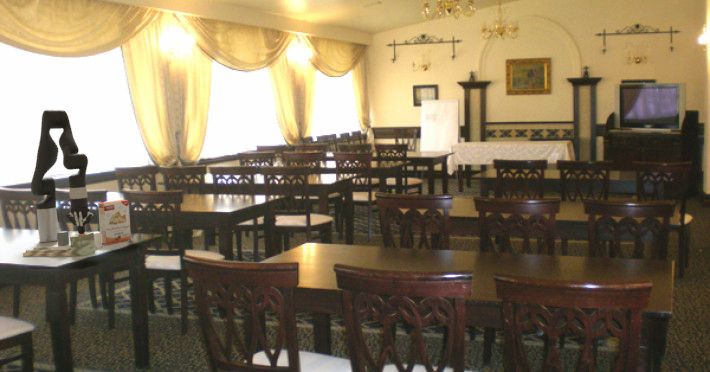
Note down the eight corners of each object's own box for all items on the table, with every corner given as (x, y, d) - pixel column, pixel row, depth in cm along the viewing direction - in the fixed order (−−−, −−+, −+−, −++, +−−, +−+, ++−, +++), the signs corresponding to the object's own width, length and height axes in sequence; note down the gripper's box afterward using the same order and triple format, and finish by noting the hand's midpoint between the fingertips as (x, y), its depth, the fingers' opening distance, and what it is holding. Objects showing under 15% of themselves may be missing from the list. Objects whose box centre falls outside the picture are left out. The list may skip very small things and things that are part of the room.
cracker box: (107, 245, 319) (103, 203, 316) (100, 244, 322) (97, 202, 320) (131, 240, 330) (128, 199, 327) (125, 239, 333) (122, 199, 331)
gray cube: (50, 250, 298) (48, 234, 297) (61, 245, 306) (60, 230, 306) (66, 249, 297) (65, 233, 296) (77, 245, 305) (75, 230, 305)
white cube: (97, 244, 322) (96, 230, 321) (105, 245, 317) (104, 231, 317) (84, 246, 316) (83, 233, 316) (92, 248, 312) (90, 234, 311)
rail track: (23, 256, 299) (21, 237, 298) (36, 251, 309) (34, 233, 308) (83, 255, 295) (82, 236, 294) (95, 251, 305) (93, 232, 304)
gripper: (96, 195, 301) (99, 232, 303) (69, 196, 302) (72, 232, 304) (87, 197, 293) (91, 235, 295) (60, 198, 295) (64, 235, 297)
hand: (81, 233), depth 300 cm, fingers closed
